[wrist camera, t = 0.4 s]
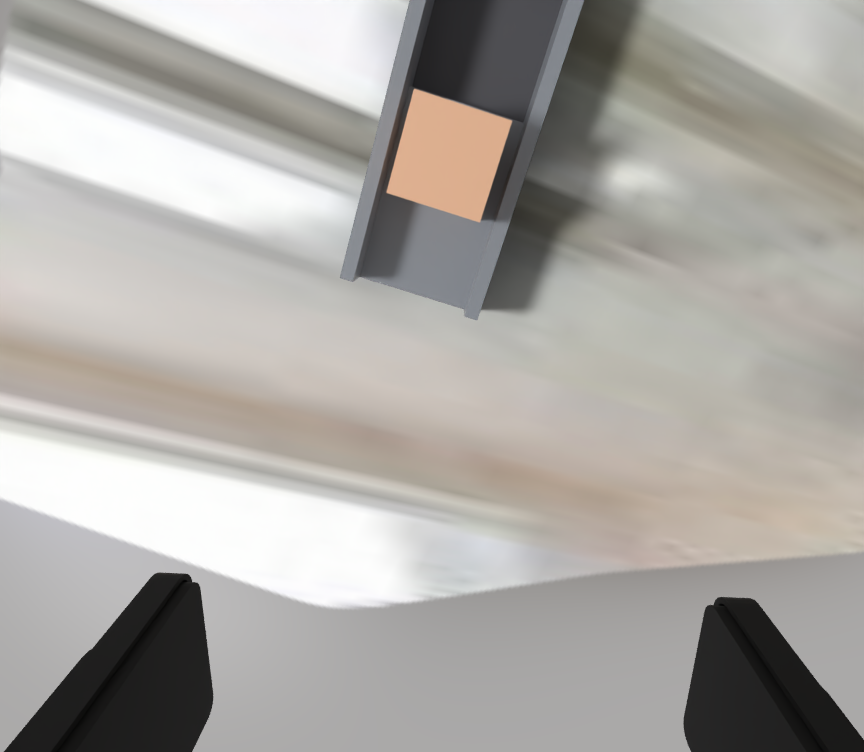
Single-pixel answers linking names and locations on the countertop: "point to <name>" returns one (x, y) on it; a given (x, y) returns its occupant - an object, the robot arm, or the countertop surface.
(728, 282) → the countertop surface
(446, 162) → the block
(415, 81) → the grey railed tray
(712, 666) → the robot arm
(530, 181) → the countertop surface
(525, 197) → the countertop surface
